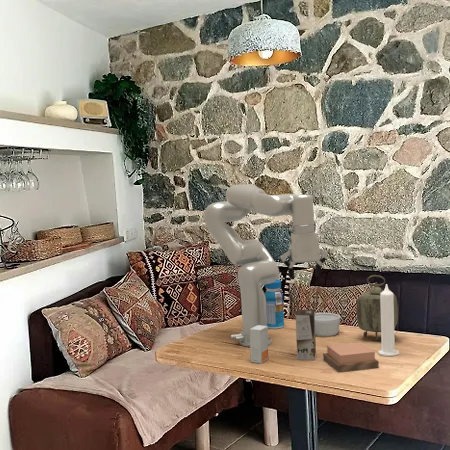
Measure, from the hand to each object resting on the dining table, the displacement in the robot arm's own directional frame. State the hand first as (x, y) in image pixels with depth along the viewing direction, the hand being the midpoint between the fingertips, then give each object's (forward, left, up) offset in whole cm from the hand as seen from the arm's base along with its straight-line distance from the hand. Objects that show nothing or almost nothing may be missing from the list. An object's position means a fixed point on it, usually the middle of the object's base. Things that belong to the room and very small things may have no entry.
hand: (305, 277), depth 211 cm
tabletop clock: (+32, +11, -29) cm, 44 cm away
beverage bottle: (+1, +44, -29) cm, 52 cm away
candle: (+28, -7, -29) cm, 40 cm away
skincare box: (-17, +1, -29) cm, 33 cm away
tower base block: (+11, -13, -29) cm, 34 cm away
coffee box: (0, 0, -29) cm, 29 cm away
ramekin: (+17, +27, -29) cm, 43 cm away
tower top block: (+11, -13, -26) cm, 31 cm away
